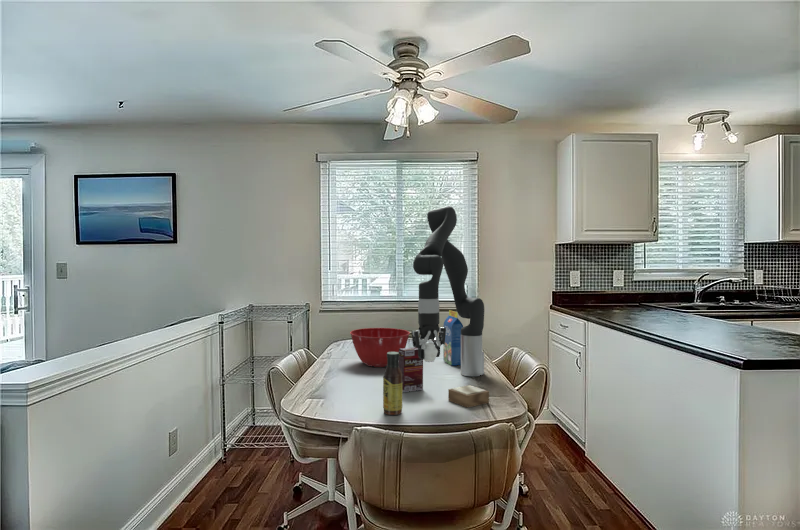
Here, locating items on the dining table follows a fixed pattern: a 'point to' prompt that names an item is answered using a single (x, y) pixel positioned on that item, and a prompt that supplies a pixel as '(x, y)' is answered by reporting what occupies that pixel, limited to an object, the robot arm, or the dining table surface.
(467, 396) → the base
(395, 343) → the mixing bowl
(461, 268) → the robot arm
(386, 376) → the sauce bottle
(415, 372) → the supplement box
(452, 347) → the blue food package
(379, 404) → the dining table surface
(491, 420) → the dining table surface
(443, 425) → the dining table surface
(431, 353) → the white fluted ornament
